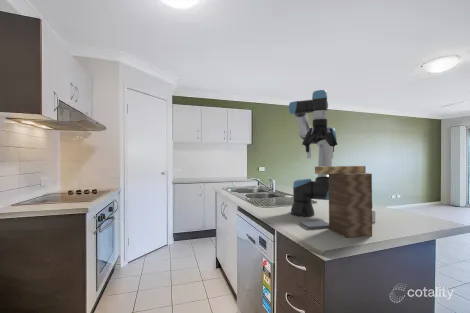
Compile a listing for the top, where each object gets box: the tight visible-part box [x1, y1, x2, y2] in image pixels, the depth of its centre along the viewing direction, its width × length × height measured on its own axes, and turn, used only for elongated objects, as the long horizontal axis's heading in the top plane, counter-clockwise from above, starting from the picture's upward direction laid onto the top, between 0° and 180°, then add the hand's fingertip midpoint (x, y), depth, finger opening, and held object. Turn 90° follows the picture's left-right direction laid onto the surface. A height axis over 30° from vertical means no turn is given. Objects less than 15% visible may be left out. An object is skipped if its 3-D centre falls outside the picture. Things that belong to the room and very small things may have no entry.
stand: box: [328, 172, 373, 239], centre depth 118 cm, size 14×14×30 cm
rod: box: [314, 165, 367, 175], centre depth 117 cm, size 26×4×4 cm, turn 101°
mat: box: [299, 220, 329, 230], centre depth 129 cm, size 14×10×2 cm
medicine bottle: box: [372, 208, 376, 224], centre depth 138 cm, size 7×7×12 cm
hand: (320, 158), depth 127 cm, fingers open, 13 cm apart
